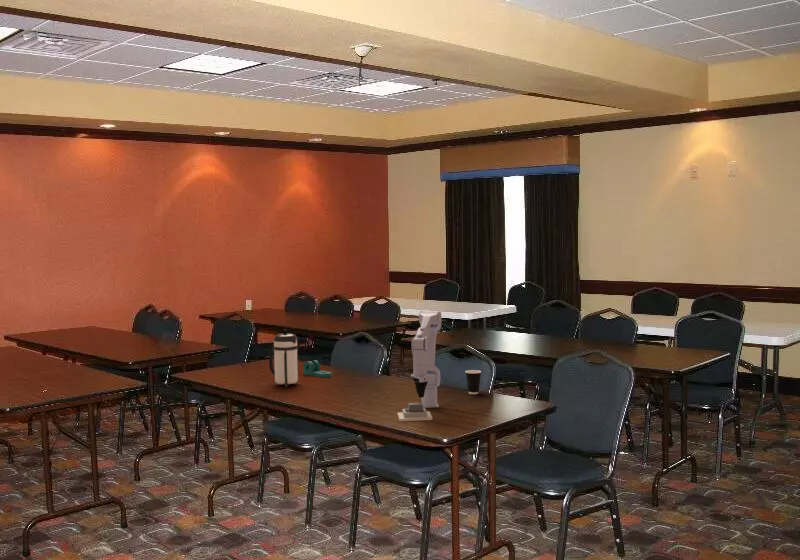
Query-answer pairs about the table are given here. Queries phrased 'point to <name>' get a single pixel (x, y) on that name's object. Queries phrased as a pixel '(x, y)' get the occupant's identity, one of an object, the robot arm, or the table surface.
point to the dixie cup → (473, 381)
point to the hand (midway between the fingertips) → (420, 395)
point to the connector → (415, 407)
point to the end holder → (414, 415)
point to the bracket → (315, 369)
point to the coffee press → (284, 359)
